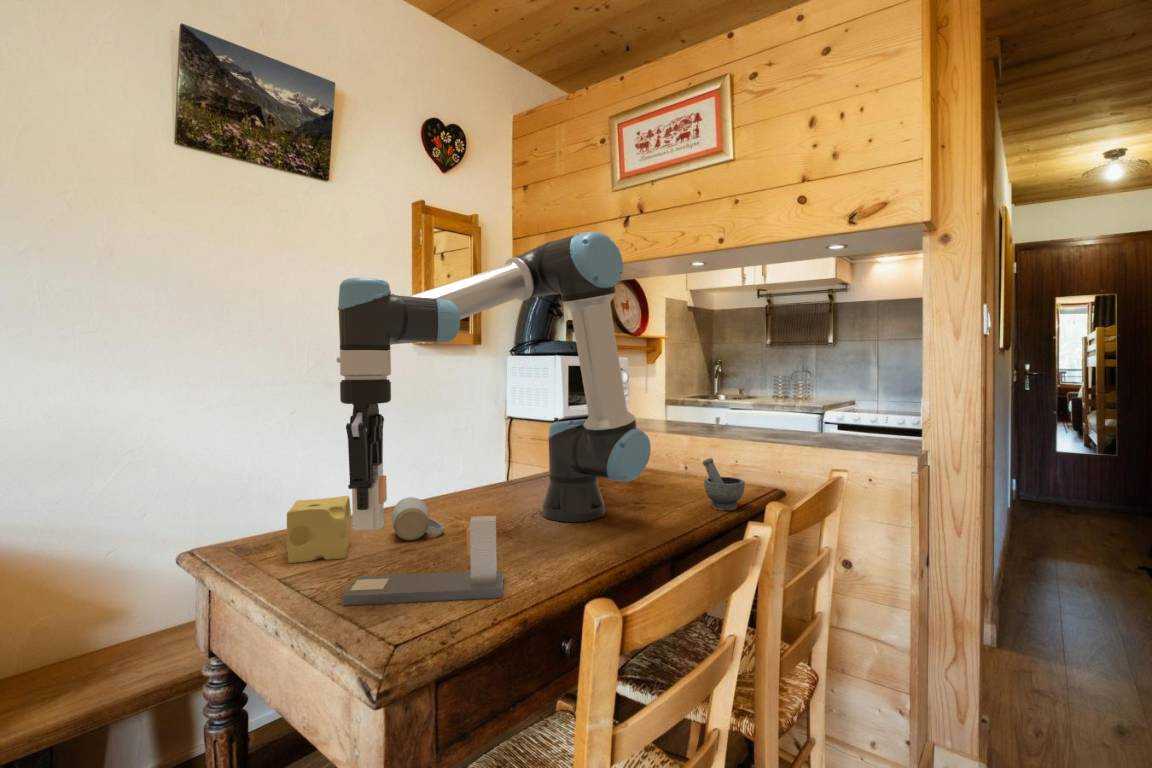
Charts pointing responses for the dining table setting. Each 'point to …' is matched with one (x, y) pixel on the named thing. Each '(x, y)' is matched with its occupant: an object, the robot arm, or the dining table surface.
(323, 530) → the cheese
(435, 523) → the ceramic mug
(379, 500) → the loose carton
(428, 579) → the rail
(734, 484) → the mortar and pestle
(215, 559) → the dining table surface
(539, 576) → the dining table surface
